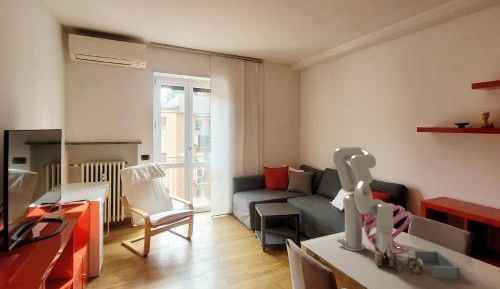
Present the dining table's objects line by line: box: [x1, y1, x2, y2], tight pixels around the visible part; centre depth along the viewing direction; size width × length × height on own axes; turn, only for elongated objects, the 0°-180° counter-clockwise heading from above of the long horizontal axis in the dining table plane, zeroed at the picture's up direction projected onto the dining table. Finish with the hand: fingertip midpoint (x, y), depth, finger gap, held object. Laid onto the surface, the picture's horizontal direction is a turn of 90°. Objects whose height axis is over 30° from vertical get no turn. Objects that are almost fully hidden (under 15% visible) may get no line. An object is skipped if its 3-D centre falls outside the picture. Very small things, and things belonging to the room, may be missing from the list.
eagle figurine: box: [406, 256, 424, 276], centre depth 130 cm, size 8×7×9 cm
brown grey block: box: [374, 250, 402, 272], centre depth 134 cm, size 10×11×6 cm
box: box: [414, 250, 461, 280], centre depth 131 cm, size 11×17×5 cm, turn 173°
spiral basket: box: [363, 202, 414, 255], centre depth 152 cm, size 28×28×27 cm
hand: (384, 263), depth 134 cm, fingers closed on brown grey block, 3 cm apart
